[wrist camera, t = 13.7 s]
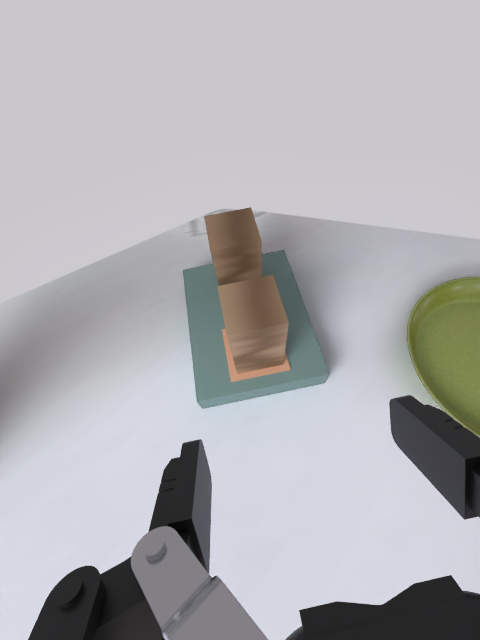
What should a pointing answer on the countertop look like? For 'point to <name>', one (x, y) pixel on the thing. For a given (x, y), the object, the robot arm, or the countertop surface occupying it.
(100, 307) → the countertop surface
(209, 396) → the build board
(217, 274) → the walnut column
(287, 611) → the countertop surface
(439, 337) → the saucer
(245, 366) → the walnut block
